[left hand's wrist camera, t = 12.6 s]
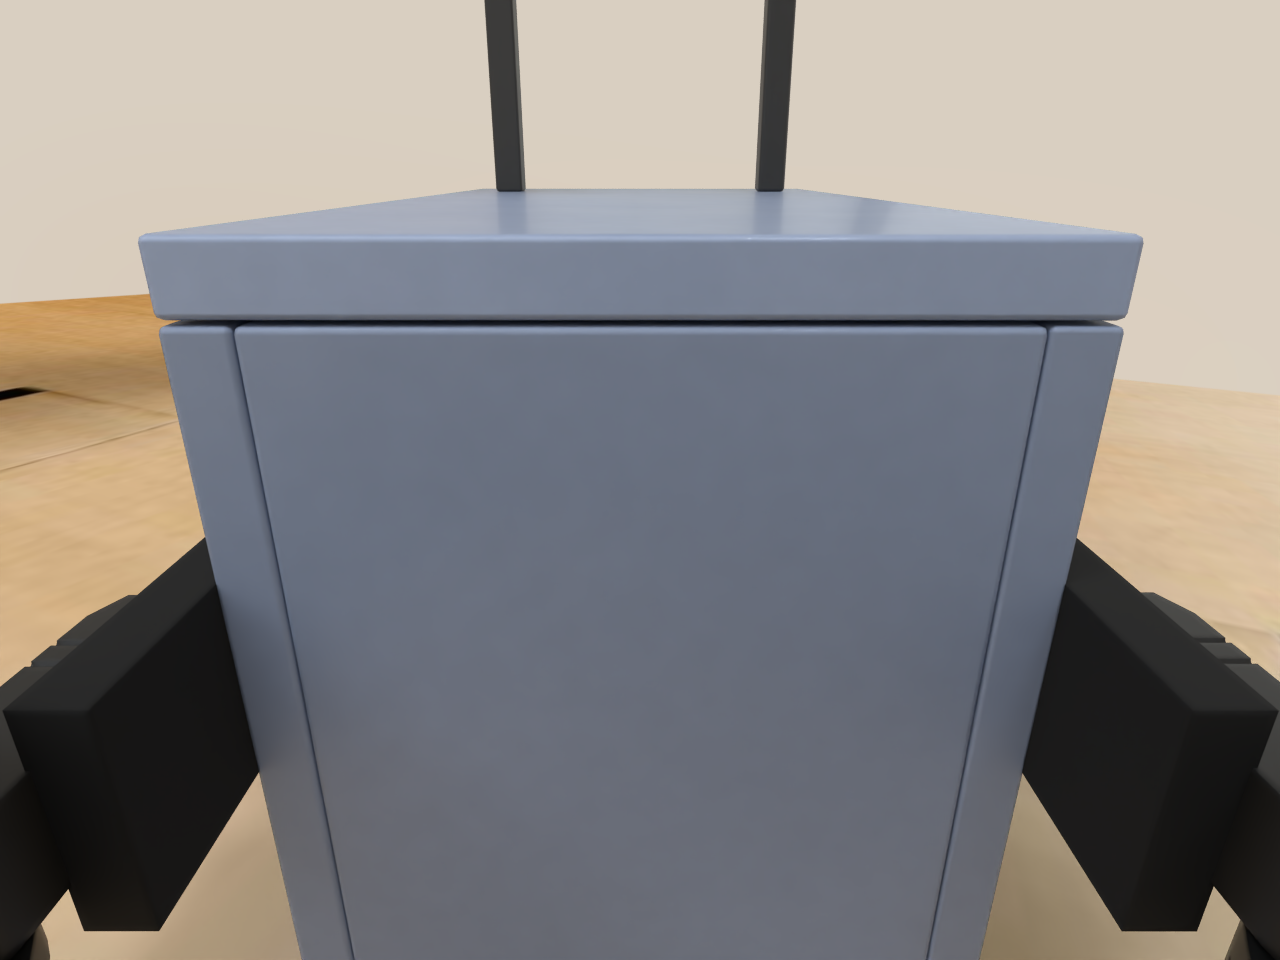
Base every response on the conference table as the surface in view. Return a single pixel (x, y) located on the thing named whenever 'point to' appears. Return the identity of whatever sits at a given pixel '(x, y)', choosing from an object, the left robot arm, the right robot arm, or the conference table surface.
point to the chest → (640, 621)
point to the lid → (640, 245)
